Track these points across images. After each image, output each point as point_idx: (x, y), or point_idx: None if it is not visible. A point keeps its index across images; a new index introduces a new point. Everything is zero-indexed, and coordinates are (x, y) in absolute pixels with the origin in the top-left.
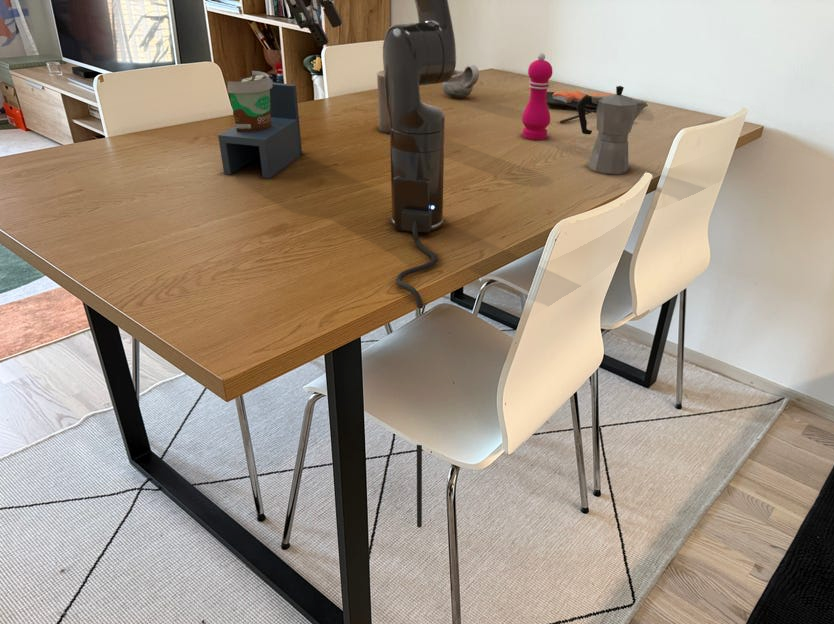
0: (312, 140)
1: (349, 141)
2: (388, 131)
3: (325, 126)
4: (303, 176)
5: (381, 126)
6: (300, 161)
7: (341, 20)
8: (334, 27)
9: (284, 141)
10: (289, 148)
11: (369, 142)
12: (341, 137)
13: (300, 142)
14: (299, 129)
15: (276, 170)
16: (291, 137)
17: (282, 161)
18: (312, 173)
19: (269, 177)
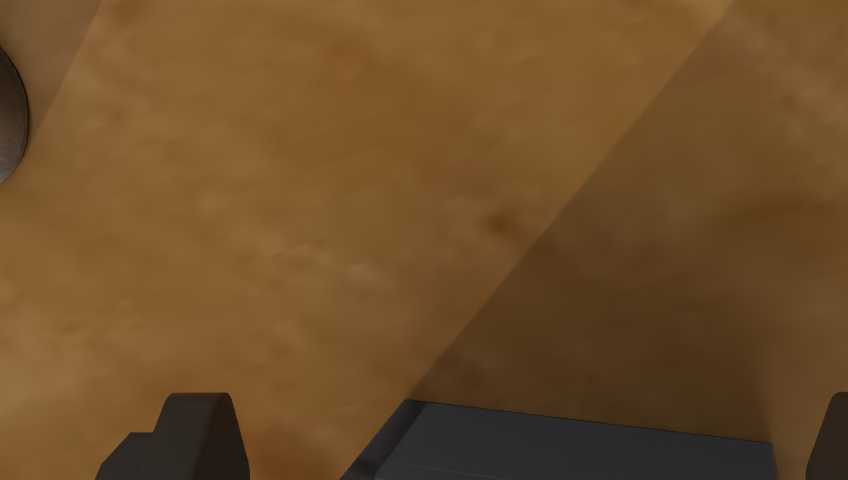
0: None
1: (182, 258)
2: (23, 129)
3: (48, 401)
4: (700, 313)
5: (1, 168)
6: (500, 380)
7: (171, 410)
8: (247, 465)
9: (556, 470)
10: (516, 441)
11: (163, 173)
12: (147, 304)
13: (394, 422)
14: (371, 448)
15: (687, 438)
16: (472, 456)
17: (612, 438)
18: (647, 287)
19: (770, 445)
